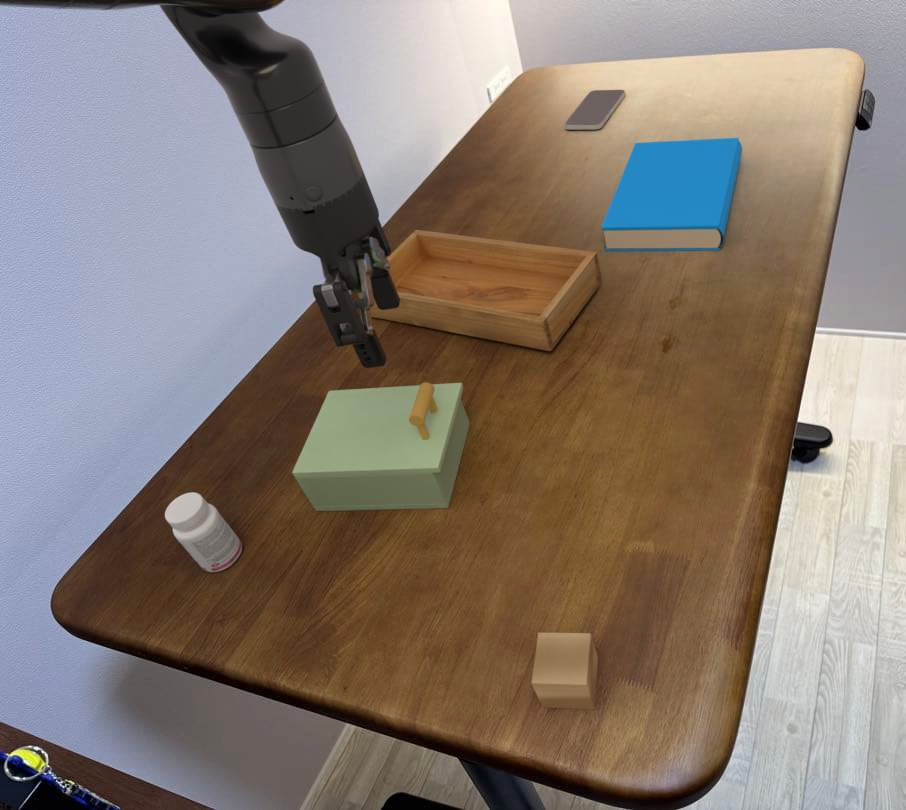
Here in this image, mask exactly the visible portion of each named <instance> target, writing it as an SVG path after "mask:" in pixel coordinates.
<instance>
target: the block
mask: <svg viewBox="0 0 906 810" xmlns="http://www.w3.org/2000/svg"><path fill="white" fill-rule="evenodd" d="M593 639H594V638H593V637H592V633H590V632H538V633H537V640H536V646H535V654H534V661H533V669H532V674H531V675H532V676H531V686H532V687H533V691H534V692H535V695H536V698H537V699H538V701H539V704H540V706H541V708H542V709H565V710H567V709H568V710H593V711H594V710H595V709H596V697H597V684H598V672H599V671H598V669H599V657H598V653H597V650H596V646H595V643H594V640H593Z"/></svg>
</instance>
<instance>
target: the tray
mask: <svg viewBox="0 0 906 810" xmlns="http://www.w3.org/2000/svg"><path fill="white" fill-rule="evenodd" d="M386 259H388V261H389V263H390V266H391V267H390V272H388V273H390V275H391V278H392V280H393V283H394V285H395V288H396V290H397V293H398V295H399V298H400V304H399V307H398V308H394V309H387V310H381V309H379V308H378V307H377V304H376V302H375V300H374V305H373V307H372V308H371V309H370V313H371V318H375V319H380V320H386V321H392V322H397V323H402V324H406V325H413V326H417V327H423V328H428V329H434V330H437V331H443V332H449V333H454V334H458V335H465V336H469V337H474V338H479V339H484V340H490V341H496V342H500V343H506V344H511V345H516V346H521V347H526V348H531V349H535V350H540V351H546V352H552V351H553V350H554V348H555V347H556V346H557V344H558V343H559V341H560V340H561V339H562V337H563V336H564V335H565V333H566V332H567V330H568V329H569V328H570V326H571V325H572V324H573V322H574V321H575V320H576V318H577V317H578V316H579V314H580V313H581V311H582V310H583V309H584V307H585V306H586V305H587V303H588V302H589V300H590V299H591V298H592V296H593V295H594V293H595V292H596V291H597V289H598V288H599V287H600V285H601V283H602V274H601V269H600V262H599V257H598V254H597V252H596V251H590V250H582V249H574V248H566V247H559V246H549V245H541V244H535V243H534V244H532V243H525V242H518V241H510V240H500V239H492V238H484V237H477V236H469V235H468V236H467V235H461V234H453V233H444V232H438V231H437V232H436V231H430V230H420V229H415V230H414V231H413V232H412V233H411V234H409V236H408V237H407V238H406V239H405V240H404V241H402V243H400V245H398V246H397V247H396V248H395V249H394V250H393V252H391V255H390V256H386ZM356 295H357V297H358V300H359V299H360V298H361V297H362V293H357V294H356Z"/></svg>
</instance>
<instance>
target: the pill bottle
mask: <svg viewBox="0 0 906 810" xmlns="http://www.w3.org/2000/svg"><path fill="white" fill-rule="evenodd" d="M164 518H165V521H166V522H167V523H168V524H169V525H170V527H171V528H172V534H173V536H174V538H175V539H176V540H177V541H178V542H179V543H180V545H181V546H182V547H183V548H184V549H185V551H186V552H187V553H188V554H189V555H190V556H191V557H192V559H193V560H194V561H195V563H196V564H197V565H198V566H199V567H200V568H201V569H202V570H204V572H205V571H206V572H209V573H219V572H222V571H225V570H226V569H228V568H230V567H231V566H232V565H234V563H235V562H236V561H237V560H238V559H239V557H240V556H241V554H242V551H243V542H242V540H241V538H239V536H238V535H237V534H236V532H235V530H233V529H232V527H231V526H230V525H229V524H228V522H227V521H226V519H225V518H224V517H223V515H222V514H221V513H220V511H219V510H218V509H217V508H216V507H215V505H213V504H212V503H208V501H207V500H206V499H205V498H204V497H203V496H202V495H201V494H200V493H198V492H193V491H191V492H187V493H183V494H181V495H179V496H177V497H176V498H175V499H173V500H172V501H171V502H170V503H169V504H168V505H167V507H166V509H165V512H164Z"/></svg>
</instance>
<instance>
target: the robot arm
mask: <svg viewBox="0 0 906 810" xmlns="http://www.w3.org/2000/svg"><path fill="white" fill-rule="evenodd" d="M285 1H286V0H0V7H13V8H30V9H31V8H34V9H52V10H57V9H58V10H81V11H82V10H85V11H86V10H87V11H88V10H89V11H121V10H129V9H138V8H145V7H153V6H158V7H159V8H160V9H161V11H162V12H163V13H164V15H165V16H166V18H167V19H168V21H169V22H170V23H171V24H172V26H173V28H175V31H177V32H178V34H179V35H180V36H181V38H182V39H183V40H184V41H185V43H186V44H187V45H188V47H189V48H190V49H191V51H192V52H193V53H194V55H195V56H196V57H197V58H198V60H199V61H200V63H201V64H202V65H203V66H204V67H205V69H206V70H207V71H208V72H209V73H210V75H211V76H212V77H213V78H214V79H215V80H216V82H217V83H218V84H219V86H221V88H222V89H223V91H224V92H225V94H226V97H227V98H228V99H227V100H228V101H229V104H230V106H231V108H232V110H233V113H234V115H235V117H236V119H237V121H238V123H239V125H240V128H241V129H242V131H243V134H244V136H245V138H246V140H247V142H248V143H249V146H250V148H251V151H252V153H253V156H254V160H255V163H256V166H257V169H258V172H259V173H260V177H261V179H262V180H263V182H264V184H265V186H266V188H267V191H268V193H269V195H270V197H271V199H272V201H273V203H274V205H275V207H276V209H277V211H278V214H279V216H280V217H281V219H282V222H283V223H284V225H285V228H286V230H287V232H288V234H289V236H290V238H291V240H292V242H293V244H294V245H295V246H296V247H297V248H298V249H300V250H301V251H303V252H306V253H309V254H312V255H314V256H316V257H317V258H318V259H319V260H320V264H321V270H322V276H323V278H324V282H323V283H321V284H315V285H313V286H312V295H313V297H314V299H315V302H316V304H317V306H318V308H319V311H320V313H321V315H322V317H323V319H324V321H325V323H326V326H327V328H328V331H329V332H330V335H331V337H332V339H333V341H334V343H335V346H336V347H337V348H343V347H345V346H352V348H353V350H354V351H355V354H356V356H357V358H358V360H359V362H360V364H361V366H362V367H363V368H365V369H371V368H380V367H384V366H385V365H386V362H387V355H386V352H385V350H384V348H383V346H382V344H381V341H380V339H379V337H378V334H377V332H376V330H375V329H374V324H373V320H372V319H373V318H372V317H371V313H370V309H371V308H372V307H373V305H374V300H375V302H376V304H377V307H378V308H379V309H381V310H387V309H394V308H398V307H399V304H400V298H399V295H398V293H397V290H396V288H395V285H394V283H393V280H392V278H391V275H390V273H388V272H390V267H391V266H390V263H389V261H388V259H386V258H387V257H388V256H390V255H391V254H392V247H391V245H390V243H389V240H388V238H387V236H386V233H385V231H384V228H383V225H382V224H381V221H380V212H379V208H378V206H377V203H376V201H375V198H374V195H373V192H372V190H371V187H370V186H369V183H368V180H367V177H366V175H365V171H364V170H363V167H362V165H361V161H360V159H359V156H358V154H357V151H356V148H355V146H354V144H353V142H352V139H351V137H350V135H349V132H348V130H347V129H346V127H345V125H344V124H343V122H342V120H341V118H340V116H339V113H338V111H337V109H336V107H335V104H334V101H333V99H332V96H331V93H330V91H329V89H328V85H327V83H326V81H325V79H324V78H325V77H324V75H323V72H322V69H321V67H320V65H319V63H318V61H317V58H316V56H315V54H314V52H313V51H312V49H311V48H310V47H309V45H308V44H306V43H305V42H304V41H302V40H300V39H299V38H296V37H294V36H291V35H288V34H285V33H283V32H279V31H277V30H275V29H273V27H271V26H269V25H268V24H267V23H266V21H265V20H264V19H263V17H262V16H261V15H260V13H264V12H268V11H270V10H272V9H275V8H277V7H278V6H280V5H281V4H283V3H284V2H285ZM377 242H378V243H377ZM357 293H362V297H361V298H360V299H359V298H358V299H354V300H353V298H352V295H357ZM358 311H359V312H358ZM359 313H360V315H359Z"/></svg>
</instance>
